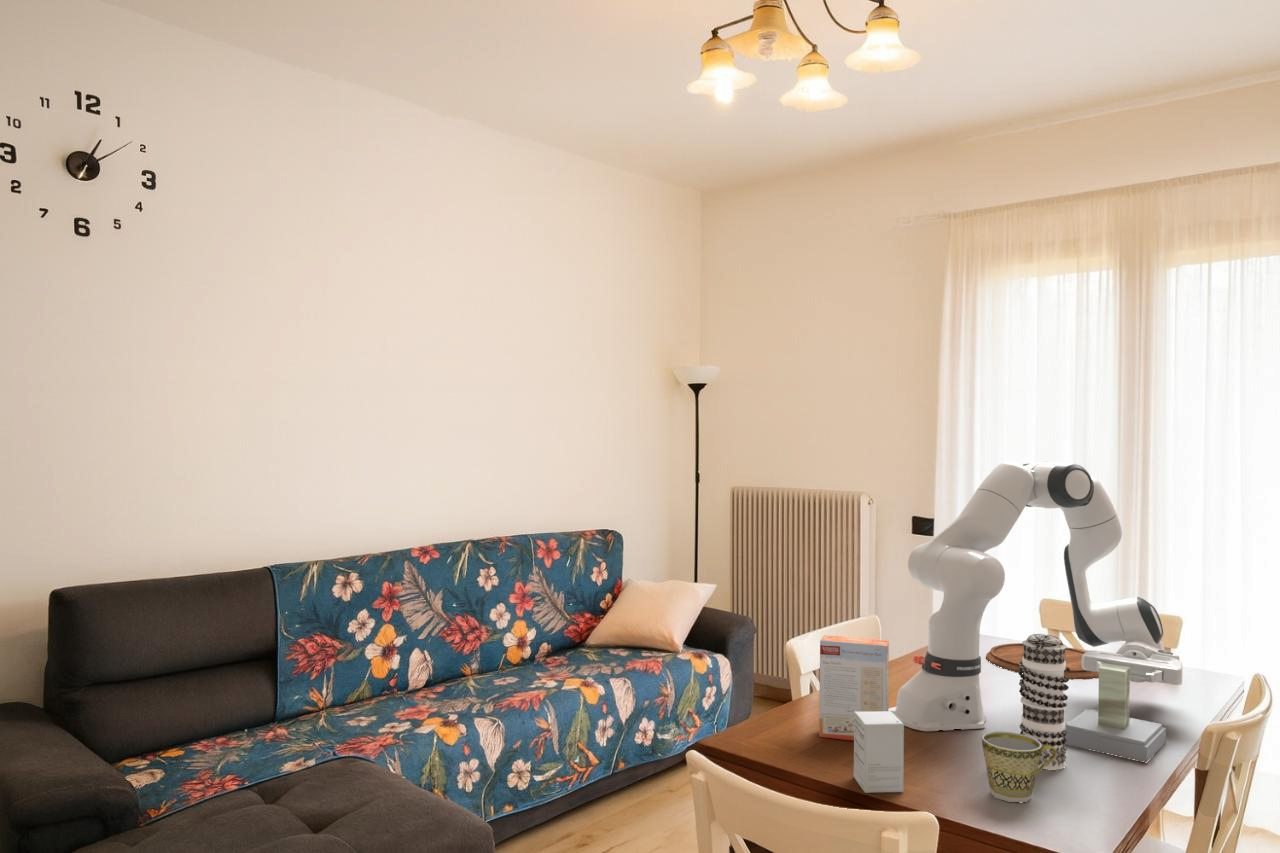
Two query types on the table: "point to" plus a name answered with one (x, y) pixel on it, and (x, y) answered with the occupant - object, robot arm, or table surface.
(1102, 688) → the tall block
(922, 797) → the table surface
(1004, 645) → the cutting board
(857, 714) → the supplement box
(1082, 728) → the plinth
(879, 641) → the cracker box
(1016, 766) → the ceramic cup
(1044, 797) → the table surface
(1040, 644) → the decorative candle
